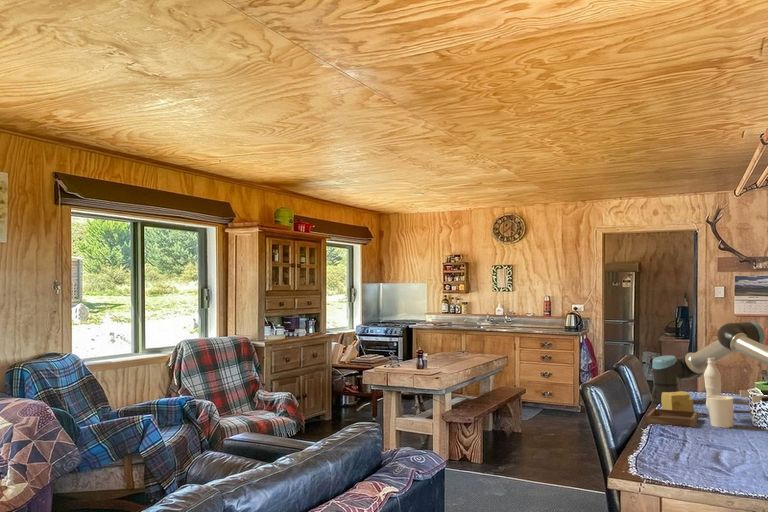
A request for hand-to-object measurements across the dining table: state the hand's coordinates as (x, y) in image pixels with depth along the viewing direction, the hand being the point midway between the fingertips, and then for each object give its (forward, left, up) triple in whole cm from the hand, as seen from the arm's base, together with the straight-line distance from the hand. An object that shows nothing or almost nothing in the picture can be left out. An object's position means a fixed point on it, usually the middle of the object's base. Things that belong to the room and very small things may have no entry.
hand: (745, 396), depth 248 cm
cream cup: (+3, -9, -13) cm, 16 cm away
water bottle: (-31, -14, -13) cm, 37 cm away
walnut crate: (+3, -28, -13) cm, 31 cm away
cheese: (-15, -28, -13) cm, 35 cm away
